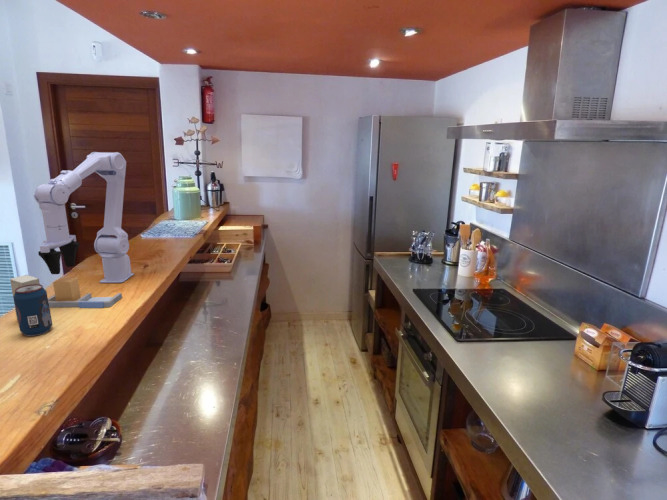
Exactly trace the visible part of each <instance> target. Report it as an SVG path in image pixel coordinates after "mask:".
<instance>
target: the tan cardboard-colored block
mask: <svg viewBox="0 0 667 500" xmlns="http://www.w3.org/2000/svg"><path fill="white" fill-rule="evenodd" d="M52 286H53V290H54V295H55V297H56V301H77V300H78V299H80V298H81V297H82V296H81V291H80V284H79V279H78V277H60V278H58V279H56V280H54V281H53V282H52Z"/></svg>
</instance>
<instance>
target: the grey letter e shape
mask: <svg viewBox="0 0 667 500" xmlns="http://www.w3.org/2000/svg"><path fill="white" fill-rule="evenodd" d="M80 297H81V298H80V299H78V300H77V301H56V297H55V294H53V295H52V296H50V297H48V303H49V308H79V309H104V308H111V307H112V306H113V305H114V304H116V303H117V302H118V301H120V300H121V299H122V298H123V294H122V292H118V293H116V294H115V295H114V296H104V297H103V296H97V297H96V296H95V297H94V296H93V297H92V293H91V292H89V293H85V294H84V295H83V296H80Z"/></svg>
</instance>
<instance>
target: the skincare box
mask: <svg viewBox="0 0 667 500" xmlns="http://www.w3.org/2000/svg"><path fill="white" fill-rule="evenodd" d="M9 281H10V287H11V292H12V297H13V296H14V294H15V289H16V288H19V287H21V286H25V285H31V284H40V279H39V277H36V276H33V275H29V274H24V275H19V276H15V277H11V278H10V279H9ZM40 285H41V284H40ZM14 306H15V304H14ZM14 309H15V308H14ZM15 312H16V309H15ZM15 314H16V313H15ZM15 317H16V320H17V321H18V318H17V314H16V315H15Z"/></svg>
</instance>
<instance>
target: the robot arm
mask: <svg viewBox="0 0 667 500" xmlns="http://www.w3.org/2000/svg"><path fill="white" fill-rule="evenodd" d="M126 169H127V160H126V159H125V158H124V156H123V154H121V153H120V152H118V151H116V152H98V151H93V152H90V154H87V155H86V159H85V160H83V161H82V162H81V163H80V164H79V165H78V166H76V168H74V169H73V170H70V169H68V170H63V169H62V170H61V171H60V174H59V175H58V176H56V177H55V178H51V179H50V180H49V182H48V183H43V184H40V185H38V186H37V187H36V188H35V190H34V194H33V198H34V200H35V202H36V203H38V206H39V209H40V210H41V213H42V220H43V227H44V231H45V237H46V239H45V240H43V241H42V242H43V244H41V245H39V251H37V253H38V256H39V257H40V258H41V259H42V260H43V262H44V263H45V264H46V266H47V268H48V270H49V272H50V274H51V275H60V274H61V257H63V260H64V261H63V262H64V265H65V266H66V267H71V268H72V267H75V266H76V259H77V258H76V257H77V252H78V249H79V247H80V246H81V245H80V242H79V241H78V242H77V237H76V234H70V232H69V231H70V229H69V225H68V218H67V211H66V203H67V202H68V200H69V198H70V195H71V194H72V193H73V192H75V191H76V190H77V189H78V188H79V187H81V186H82V184H83V183H82V182H83V181H82V180H84V179H85V178H87V177H89V176H91V174H93V173H96V174H98V175H99V176H100V177H101V178H103V179H104V180H105V181H106V190H105V202H104V203H105V207H104V219H103V227H102V228H101V229H100V230H98V231H97V232H96V238H95V240H94V243H93V248H94V251H95V252H96V253H97V254H99V257H101V262H102V269H103V275H104V278H103V279H101V280H99V283H101V284H103V283H106V284H107V283H109V284H112V283H114V284H116V283H117V284H118V283H120V284H121V283H124V282H126V281H127V280H129V278H131V277H132V276H134V275H135V273H134V272H132V269H131V258H130V256H129V255H128V251H129V249H130V243H129V235H128V233H127V232H126V231H125V230H124V229H123V228H122V224H123V223H122V222H123V221H122V220H123V209H124V208H123V207H124V195H125V181H126V179H125V178H126ZM58 248H59V250H55V249H58Z"/></svg>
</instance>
